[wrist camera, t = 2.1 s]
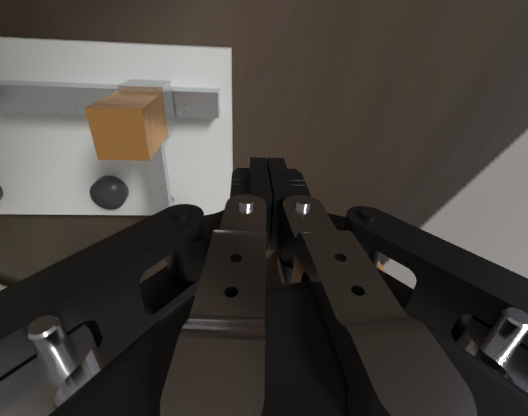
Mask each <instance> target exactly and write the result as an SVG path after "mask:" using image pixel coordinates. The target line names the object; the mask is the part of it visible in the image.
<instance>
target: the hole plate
mask: <svg viewBox="0 0 528 416" xmlns="http://www.w3.org/2000/svg"><path fill="white" fill-rule="evenodd" d="M130 79H140V80H166V81H171V86H177V87H203V88H220V115H219V118H199V117H175V123H176V128H175V130H174V131H173V133H172V134H171V136H170V137H169V139H167V138H165V140H164V146H165V154H166V161H167V169H168V176H169V184H170V191H171V196H173V197H174V199H175V201H174V204H173V205H178V204H191V205H195V206H198V207H200V208H201V209H202V210H203V212H204V215H209V214H214V213H217V212H220V211H222V210H224V209H225V205H226V202H227V200H228V199H230V190H231V178H232V172H233V134H232V48H228V47H208V46H187V45H166V44H146V43H125V42H104V41H83V40H63V39H42V38H21V37H1V36H0V80H21V81H47V82H73V83H99V84H121V83H123V82H125V81H128V80H130ZM156 213H157V212H156V206H155V200H154V194H153V188H152V182H151V176H150V171H149V165H148V161H133V160H98V158H97V154H96V150H95V147H94V143H93V139H92V135H91V131H90V128H89V124H88V120H87V116H86V114H71V113H39V112H7V111H0V214H43V215H154V214H156Z"/></svg>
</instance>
